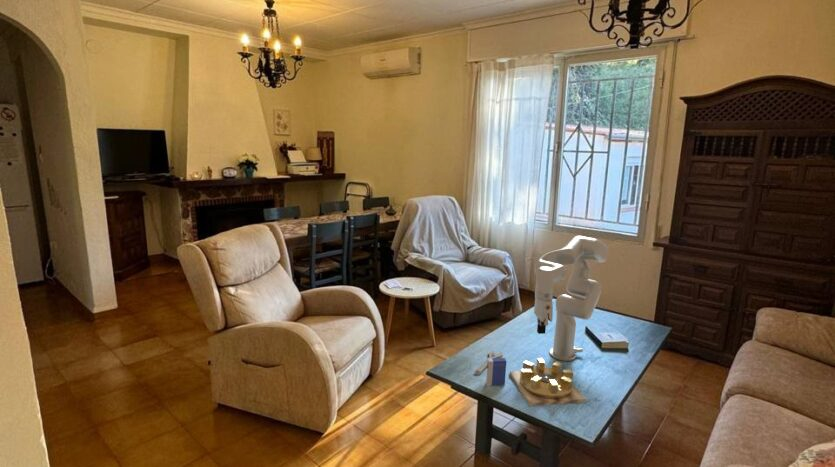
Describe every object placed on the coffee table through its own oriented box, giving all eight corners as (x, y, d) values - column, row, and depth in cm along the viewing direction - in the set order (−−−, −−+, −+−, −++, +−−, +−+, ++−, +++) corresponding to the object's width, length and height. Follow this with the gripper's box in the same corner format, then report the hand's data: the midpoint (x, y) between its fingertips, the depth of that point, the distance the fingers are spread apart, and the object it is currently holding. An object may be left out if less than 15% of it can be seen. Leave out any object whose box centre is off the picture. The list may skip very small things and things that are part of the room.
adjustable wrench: (478, 377, 199) (479, 373, 199) (466, 372, 203) (466, 368, 203) (504, 356, 218) (504, 352, 218) (492, 352, 222) (492, 348, 222)
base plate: (559, 371, 204) (559, 368, 204) (585, 402, 181) (585, 398, 181) (509, 374, 201) (509, 371, 201) (529, 405, 178) (530, 402, 177)
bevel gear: (509, 376, 196) (510, 363, 195) (549, 367, 205) (550, 354, 203) (541, 403, 177) (543, 389, 175) (583, 392, 185) (585, 378, 184)
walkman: (502, 381, 195) (504, 357, 192) (504, 385, 192) (506, 360, 189) (485, 382, 194) (487, 357, 191) (487, 385, 191) (488, 360, 189)
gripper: (559, 300, 185) (556, 340, 190) (545, 287, 200) (542, 324, 204) (542, 301, 185) (539, 341, 189) (529, 288, 199) (527, 325, 204)
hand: (541, 332), depth 197 cm, fingers closed
